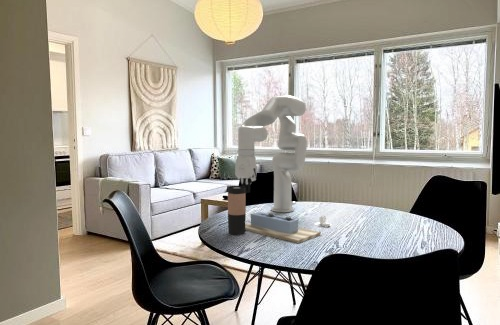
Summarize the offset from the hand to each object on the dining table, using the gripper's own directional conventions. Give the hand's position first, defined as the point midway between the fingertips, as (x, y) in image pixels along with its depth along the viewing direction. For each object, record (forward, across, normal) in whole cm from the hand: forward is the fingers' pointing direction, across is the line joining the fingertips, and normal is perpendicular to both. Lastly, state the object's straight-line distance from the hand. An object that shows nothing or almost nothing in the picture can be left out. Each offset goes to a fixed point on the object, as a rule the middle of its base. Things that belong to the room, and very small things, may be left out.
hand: (246, 192), depth 179 cm
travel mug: (+15, +8, -14) cm, 22 cm away
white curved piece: (+16, +26, +21) cm, 37 cm away
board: (+15, +20, 0) cm, 25 cm away
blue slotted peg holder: (+14, +16, 0) cm, 22 cm away
